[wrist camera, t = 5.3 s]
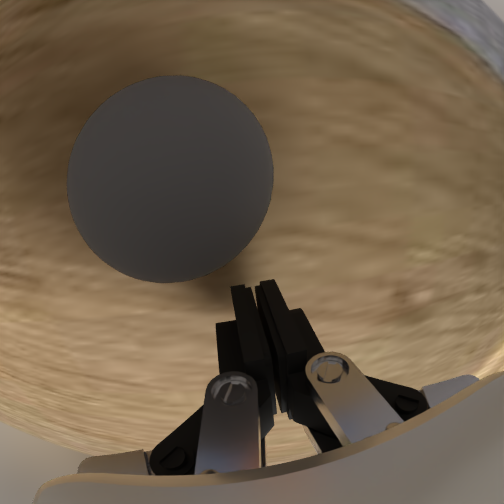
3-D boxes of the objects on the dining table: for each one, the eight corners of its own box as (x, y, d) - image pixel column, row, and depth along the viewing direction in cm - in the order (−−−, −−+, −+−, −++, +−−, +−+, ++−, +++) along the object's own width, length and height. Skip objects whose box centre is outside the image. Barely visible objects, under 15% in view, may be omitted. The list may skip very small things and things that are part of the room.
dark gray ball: (290, 323, 5) (302, 195, 10) (161, 24, 2) (248, 45, 7) (109, 328, 7) (174, 226, 12) (0, 173, 4) (115, 111, 9)
